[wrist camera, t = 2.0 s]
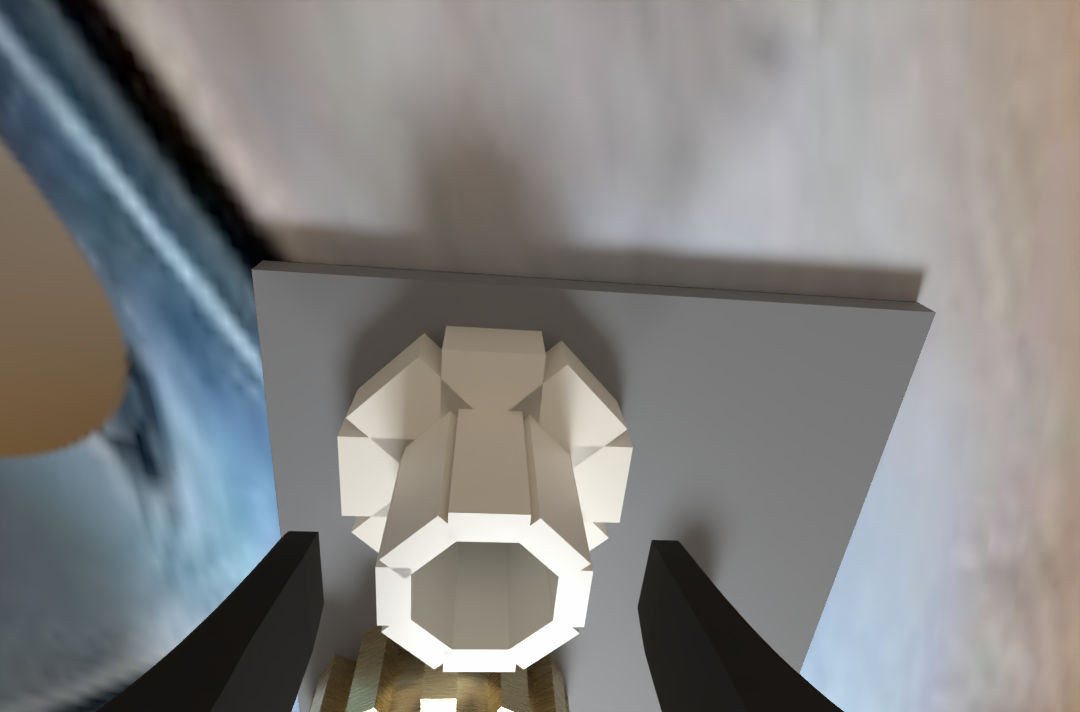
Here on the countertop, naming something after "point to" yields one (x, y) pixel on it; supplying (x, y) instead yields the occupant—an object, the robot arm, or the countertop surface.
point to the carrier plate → (652, 425)
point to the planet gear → (483, 494)
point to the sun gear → (431, 684)
